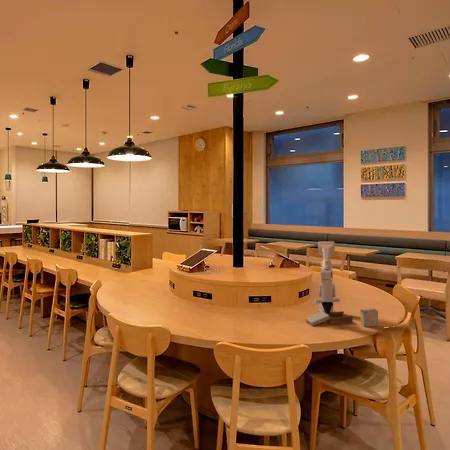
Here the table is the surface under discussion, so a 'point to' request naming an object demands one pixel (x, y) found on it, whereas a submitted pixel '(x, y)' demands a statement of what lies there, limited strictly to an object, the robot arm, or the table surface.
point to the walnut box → (339, 318)
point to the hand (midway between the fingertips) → (327, 315)
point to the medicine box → (369, 317)
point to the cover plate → (317, 318)
